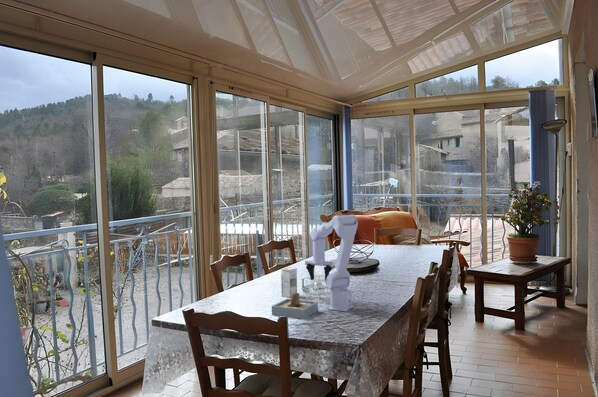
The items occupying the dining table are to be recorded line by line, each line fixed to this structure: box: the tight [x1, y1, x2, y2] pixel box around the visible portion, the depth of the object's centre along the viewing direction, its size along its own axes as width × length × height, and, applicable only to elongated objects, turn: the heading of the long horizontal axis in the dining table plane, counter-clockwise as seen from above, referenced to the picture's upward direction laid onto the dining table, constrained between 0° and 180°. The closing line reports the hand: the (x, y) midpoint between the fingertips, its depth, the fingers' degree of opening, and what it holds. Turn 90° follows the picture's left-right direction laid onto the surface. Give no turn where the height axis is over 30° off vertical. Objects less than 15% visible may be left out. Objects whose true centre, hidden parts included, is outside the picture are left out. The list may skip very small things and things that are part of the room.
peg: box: [290, 292, 301, 308], centre depth 222 cm, size 4×4×8 cm
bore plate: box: [281, 301, 311, 309], centre depth 222 cm, size 11×11×3 cm
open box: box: [271, 298, 319, 320], centre depth 222 cm, size 16×14×4 cm
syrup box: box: [280, 266, 298, 299], centre depth 253 cm, size 6×6×14 cm
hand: (319, 280), depth 243 cm, fingers open, 7 cm apart
